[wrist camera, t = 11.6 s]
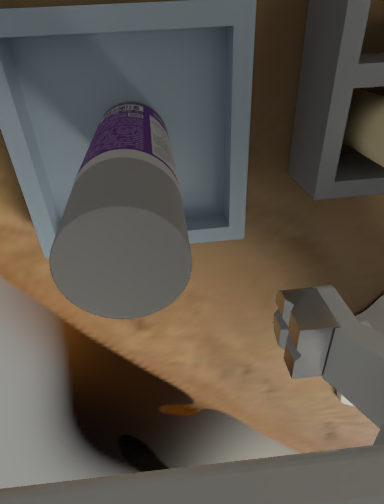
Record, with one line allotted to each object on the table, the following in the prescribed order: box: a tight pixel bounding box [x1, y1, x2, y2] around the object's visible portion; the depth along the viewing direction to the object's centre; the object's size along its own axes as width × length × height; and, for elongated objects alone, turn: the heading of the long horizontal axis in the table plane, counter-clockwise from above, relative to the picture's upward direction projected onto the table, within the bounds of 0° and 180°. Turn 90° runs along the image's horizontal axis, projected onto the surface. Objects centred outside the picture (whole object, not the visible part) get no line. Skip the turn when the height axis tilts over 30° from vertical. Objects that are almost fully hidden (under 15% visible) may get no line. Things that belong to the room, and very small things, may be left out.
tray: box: [0, 0, 257, 259], centre depth 23 cm, size 15×15×3 cm
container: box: [49, 101, 192, 319], centre depth 17 cm, size 5×5×15 cm
